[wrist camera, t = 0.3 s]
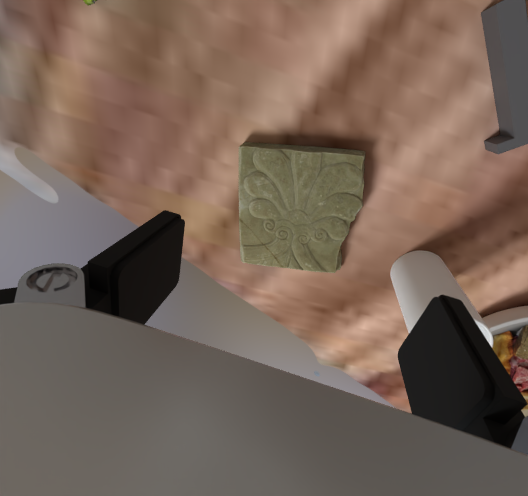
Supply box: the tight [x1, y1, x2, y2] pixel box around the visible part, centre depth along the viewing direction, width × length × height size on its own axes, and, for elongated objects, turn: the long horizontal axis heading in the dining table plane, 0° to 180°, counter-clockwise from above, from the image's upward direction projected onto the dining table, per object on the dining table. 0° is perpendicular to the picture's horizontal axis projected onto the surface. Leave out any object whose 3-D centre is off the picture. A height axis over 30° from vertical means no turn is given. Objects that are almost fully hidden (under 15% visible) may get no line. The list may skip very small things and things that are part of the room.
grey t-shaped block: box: [481, 0, 528, 154], centre depth 33 cm, size 15×6×4 cm, turn 26°
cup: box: [390, 250, 493, 347], centre depth 41 cm, size 8×8×16 cm
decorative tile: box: [239, 142, 365, 273], centre depth 46 cm, size 19×20×4 cm
